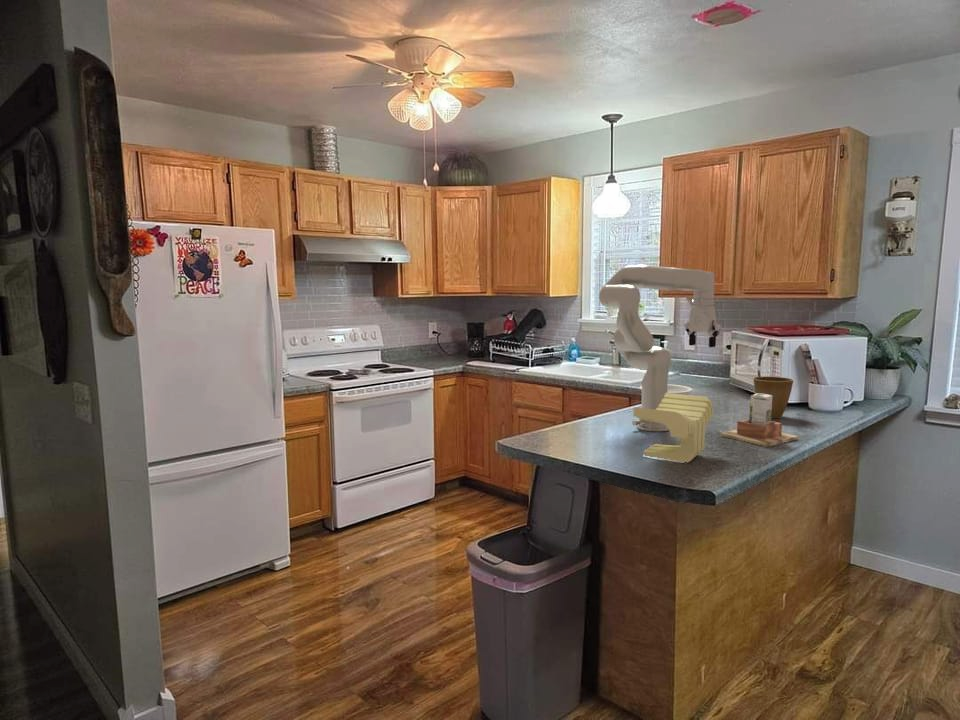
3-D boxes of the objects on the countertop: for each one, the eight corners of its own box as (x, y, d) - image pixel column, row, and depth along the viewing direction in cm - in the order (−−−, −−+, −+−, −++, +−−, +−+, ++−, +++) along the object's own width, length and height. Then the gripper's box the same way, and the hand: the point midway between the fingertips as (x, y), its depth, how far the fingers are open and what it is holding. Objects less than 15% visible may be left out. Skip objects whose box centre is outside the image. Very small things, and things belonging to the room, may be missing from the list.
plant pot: (799, 417, 249) (801, 379, 247) (776, 422, 242) (778, 382, 240) (766, 411, 262) (768, 374, 260) (743, 415, 254) (745, 377, 253)
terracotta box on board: (766, 446, 205) (767, 430, 204) (721, 436, 220) (721, 420, 219) (797, 439, 214) (798, 423, 213) (752, 429, 229) (752, 414, 229)
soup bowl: (628, 401, 288) (628, 387, 287) (657, 395, 303) (658, 382, 302) (673, 409, 269) (673, 394, 268) (702, 402, 285) (702, 388, 284)
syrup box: (753, 432, 221) (755, 392, 219) (770, 434, 217) (772, 394, 215) (748, 434, 217) (749, 394, 215) (765, 437, 213) (767, 396, 211)
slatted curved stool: (684, 472, 178) (686, 413, 176) (632, 464, 187) (633, 407, 185) (711, 449, 202) (713, 397, 200) (664, 443, 211) (665, 392, 209)
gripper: (679, 303, 246) (678, 345, 248) (715, 303, 231) (713, 348, 233) (692, 302, 250) (691, 343, 252) (728, 303, 235) (726, 347, 237)
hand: (702, 346), depth 243 cm, fingers open, 9 cm apart
